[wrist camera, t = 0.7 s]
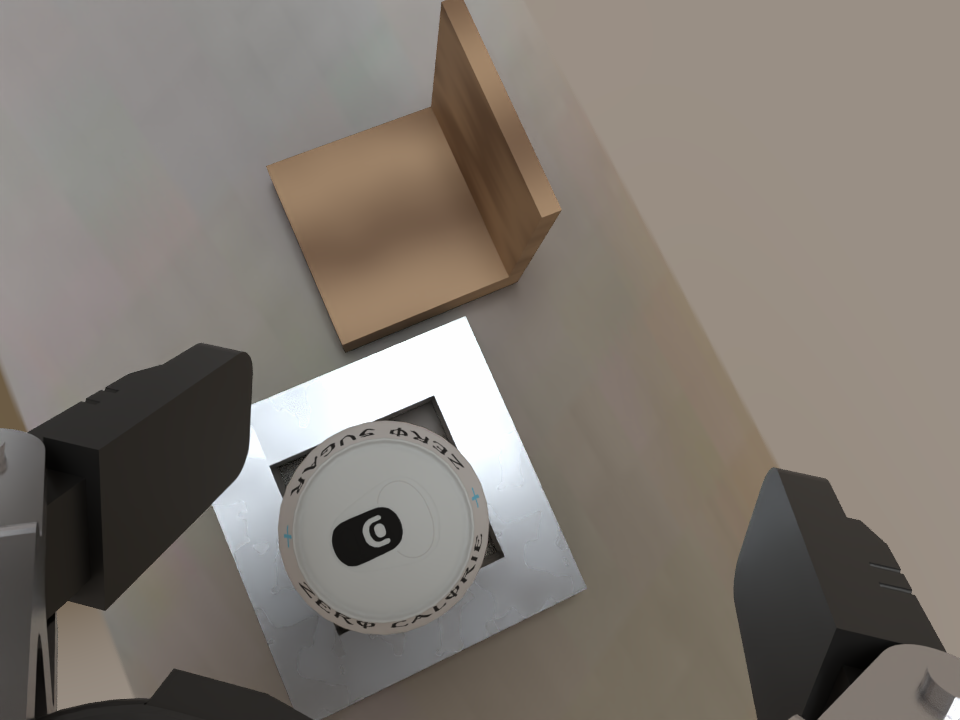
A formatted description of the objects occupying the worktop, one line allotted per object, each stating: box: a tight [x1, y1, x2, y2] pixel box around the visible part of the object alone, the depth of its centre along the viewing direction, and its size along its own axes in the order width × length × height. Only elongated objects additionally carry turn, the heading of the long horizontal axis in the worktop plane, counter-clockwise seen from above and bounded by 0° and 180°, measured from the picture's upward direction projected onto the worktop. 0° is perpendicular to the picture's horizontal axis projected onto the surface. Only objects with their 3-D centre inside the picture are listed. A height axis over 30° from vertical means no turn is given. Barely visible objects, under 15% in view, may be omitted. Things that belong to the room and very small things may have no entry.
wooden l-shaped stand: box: [266, 0, 562, 353], centre depth 32 cm, size 9×9×10 cm
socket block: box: [212, 316, 587, 720], centre depth 34 cm, size 13×13×2 cm
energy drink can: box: [278, 420, 489, 635], centre depth 28 cm, size 6×6×15 cm
